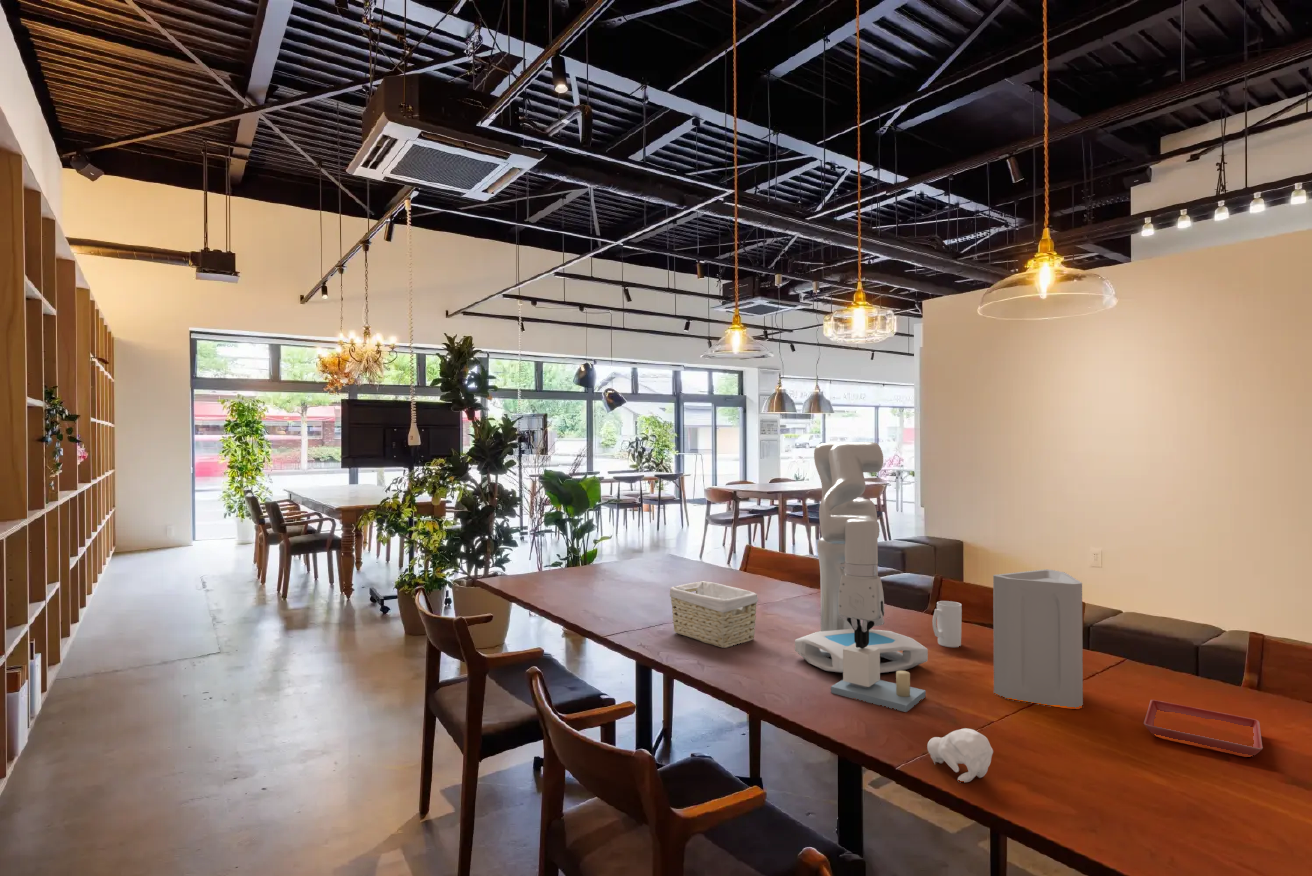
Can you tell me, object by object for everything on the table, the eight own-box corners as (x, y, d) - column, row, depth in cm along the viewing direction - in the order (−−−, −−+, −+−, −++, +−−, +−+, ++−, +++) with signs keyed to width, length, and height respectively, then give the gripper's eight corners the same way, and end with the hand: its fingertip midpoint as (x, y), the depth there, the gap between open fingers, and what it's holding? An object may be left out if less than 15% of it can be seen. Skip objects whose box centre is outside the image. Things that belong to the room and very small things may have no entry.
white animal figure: (970, 738, 118) (915, 720, 128) (974, 790, 117) (919, 767, 127) (995, 731, 120) (939, 713, 131) (999, 781, 120) (943, 760, 130)
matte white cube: (854, 674, 168) (854, 643, 169) (879, 679, 164) (879, 648, 164) (843, 681, 164) (843, 649, 164) (868, 687, 159) (868, 654, 159)
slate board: (852, 679, 172) (852, 653, 172) (925, 696, 160) (925, 669, 160) (831, 692, 163) (830, 665, 163) (906, 712, 151) (906, 682, 151)
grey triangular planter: (1049, 716, 149) (1048, 587, 149) (992, 693, 162) (991, 575, 163) (1107, 703, 156) (1107, 580, 156) (1048, 682, 170) (1047, 569, 170)
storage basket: (760, 640, 206) (760, 591, 206) (723, 651, 195) (723, 600, 195) (704, 624, 224) (704, 579, 224) (667, 634, 213) (667, 586, 213)
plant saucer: (1150, 712, 151) (1150, 697, 151) (1259, 735, 140) (1259, 718, 140) (1143, 740, 137) (1143, 723, 137) (1263, 767, 126) (1263, 749, 126)
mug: (948, 640, 206) (948, 600, 206) (967, 645, 200) (966, 604, 200) (923, 644, 201) (923, 603, 202) (942, 650, 195) (942, 608, 195)
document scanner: (929, 667, 179) (929, 643, 180) (841, 678, 169) (840, 653, 169) (876, 647, 199) (876, 625, 199) (793, 656, 189) (793, 633, 189)
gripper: (825, 568, 166) (825, 644, 166) (885, 576, 156) (885, 656, 156) (839, 564, 172) (839, 637, 172) (898, 571, 162) (898, 649, 162)
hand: (861, 646), depth 164 cm, fingers closed
